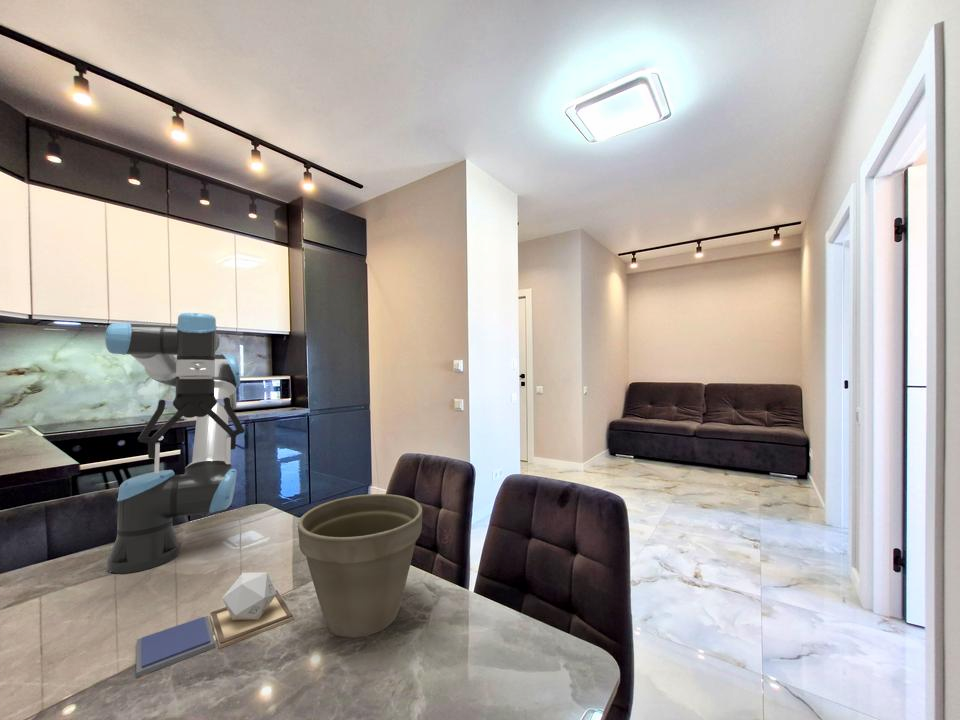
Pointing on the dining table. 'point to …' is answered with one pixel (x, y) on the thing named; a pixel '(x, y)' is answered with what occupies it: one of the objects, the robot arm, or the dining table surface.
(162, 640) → the ink pad
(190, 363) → the robot arm
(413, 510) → the plant pot
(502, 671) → the dining table surface
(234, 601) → the die
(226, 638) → the board
